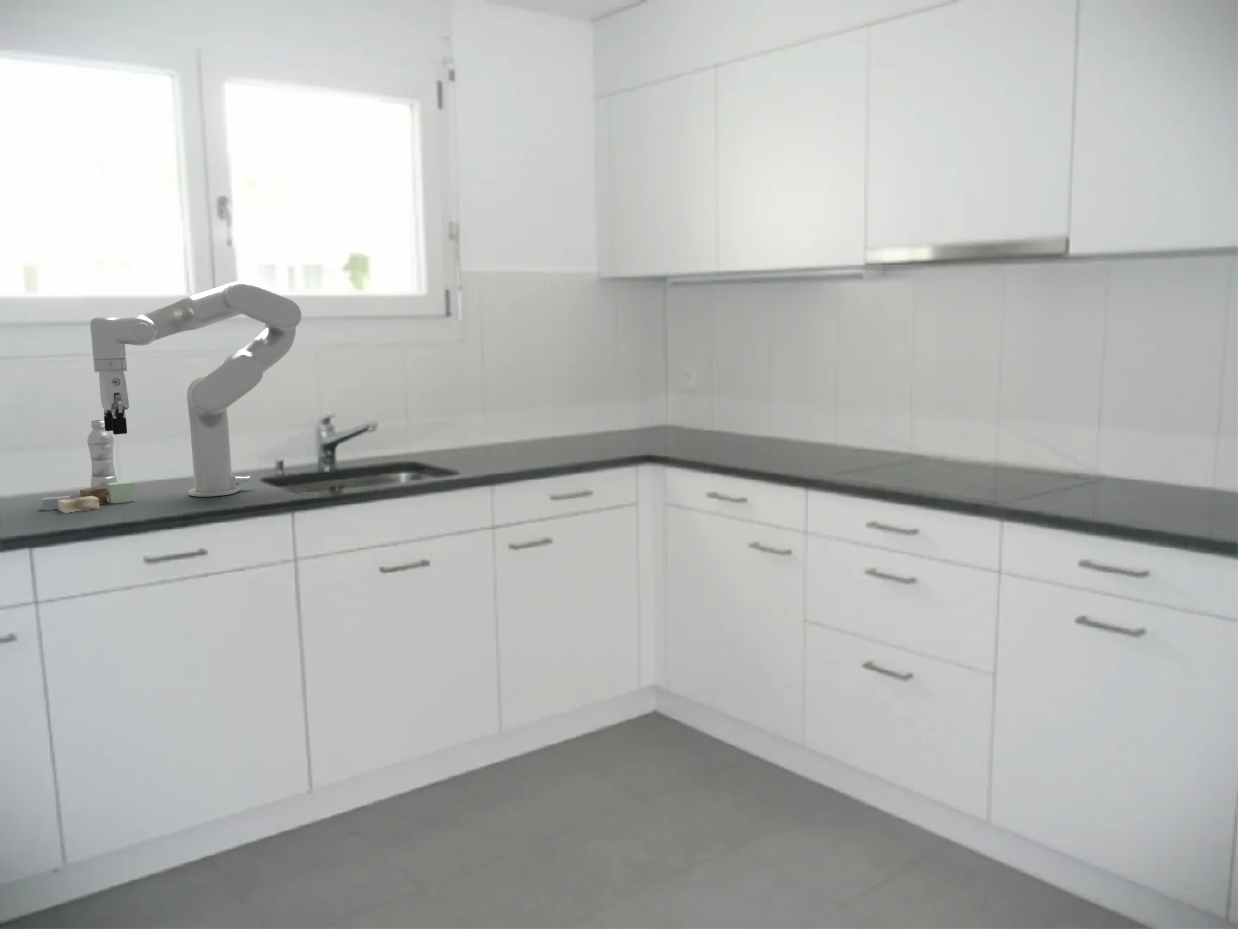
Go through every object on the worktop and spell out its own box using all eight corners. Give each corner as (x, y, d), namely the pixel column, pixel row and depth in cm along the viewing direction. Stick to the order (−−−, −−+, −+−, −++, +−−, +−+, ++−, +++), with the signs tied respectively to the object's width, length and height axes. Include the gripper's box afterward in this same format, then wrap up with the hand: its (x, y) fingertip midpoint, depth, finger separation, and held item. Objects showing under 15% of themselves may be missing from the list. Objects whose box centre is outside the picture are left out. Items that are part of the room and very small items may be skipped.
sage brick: (133, 499, 264) (132, 480, 264) (136, 501, 262) (135, 482, 261) (108, 502, 261) (107, 483, 260) (111, 504, 258) (109, 485, 257)
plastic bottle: (107, 490, 278) (100, 418, 275) (123, 492, 275) (117, 419, 272) (86, 494, 272) (79, 421, 269) (102, 495, 269) (95, 422, 266)
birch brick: (93, 507, 255) (92, 495, 255) (99, 509, 252) (98, 498, 251) (58, 511, 250) (57, 500, 249) (65, 514, 246) (63, 502, 246)
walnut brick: (100, 502, 261) (98, 487, 260) (107, 503, 259) (106, 488, 259) (81, 505, 257) (79, 490, 256) (88, 506, 255) (87, 491, 254)
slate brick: (71, 507, 255) (70, 495, 255) (70, 509, 252) (69, 497, 252) (44, 509, 253) (43, 497, 252) (43, 511, 250) (42, 500, 249)
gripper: (134, 366, 251) (139, 434, 254) (119, 364, 265) (124, 428, 267) (101, 367, 247) (107, 436, 249) (87, 365, 260) (93, 430, 263)
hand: (116, 432), depth 258 cm, fingers open, 9 cm apart
